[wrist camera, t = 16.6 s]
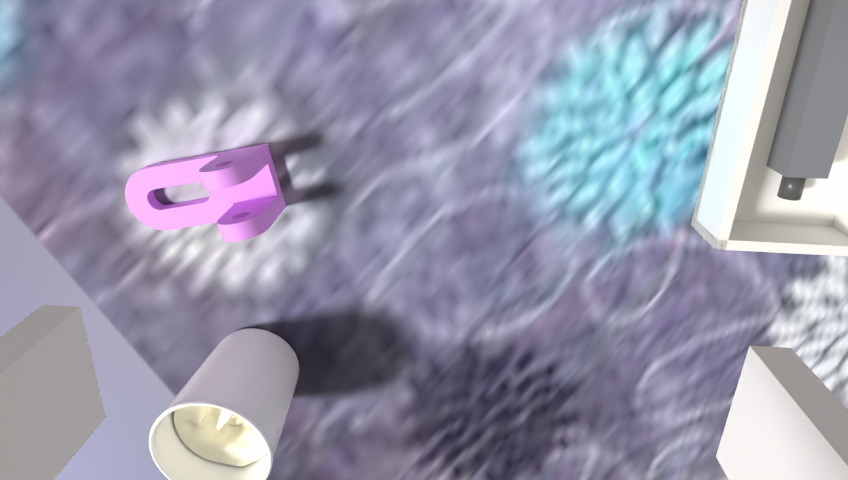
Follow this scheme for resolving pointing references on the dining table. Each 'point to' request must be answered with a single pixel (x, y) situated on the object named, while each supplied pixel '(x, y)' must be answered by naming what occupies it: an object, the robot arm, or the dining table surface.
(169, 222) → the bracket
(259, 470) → the candle holder
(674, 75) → the dining table surface
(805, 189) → the tray
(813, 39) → the grey long square-ended piece
